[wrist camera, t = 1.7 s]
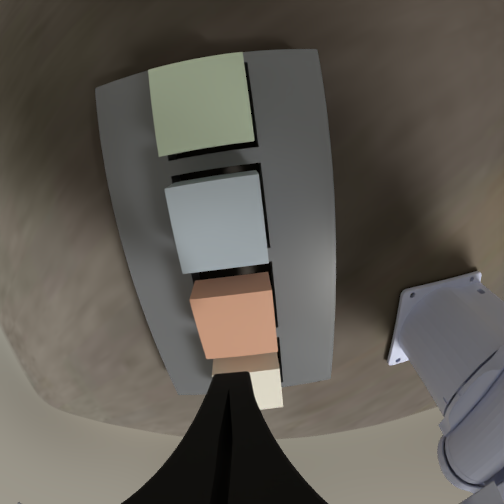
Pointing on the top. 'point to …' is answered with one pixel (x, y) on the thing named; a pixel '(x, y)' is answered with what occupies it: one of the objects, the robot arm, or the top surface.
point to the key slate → (218, 222)
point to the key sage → (200, 104)
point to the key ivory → (256, 376)
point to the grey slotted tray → (275, 207)
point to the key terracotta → (235, 315)
